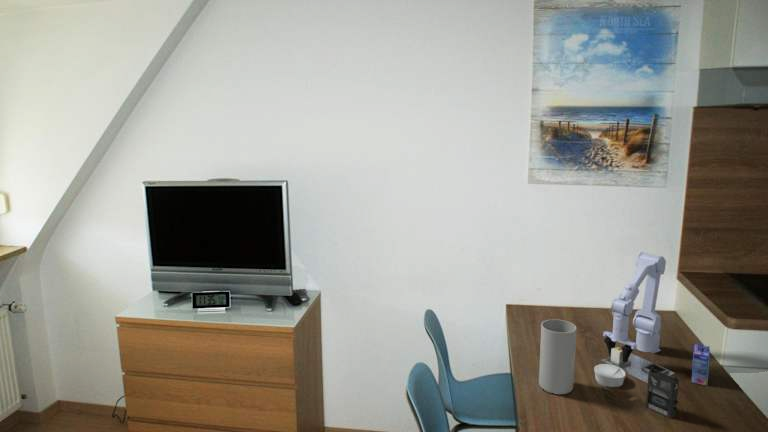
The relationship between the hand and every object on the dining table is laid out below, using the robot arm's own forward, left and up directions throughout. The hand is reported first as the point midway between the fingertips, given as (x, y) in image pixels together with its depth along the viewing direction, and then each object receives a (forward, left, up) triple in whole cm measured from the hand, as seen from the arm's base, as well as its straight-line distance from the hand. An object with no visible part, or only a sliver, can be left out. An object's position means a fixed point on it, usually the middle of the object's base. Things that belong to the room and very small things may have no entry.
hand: (618, 358), depth 213 cm
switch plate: (-4, +6, -3) cm, 8 cm away
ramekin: (+15, +8, -3) cm, 17 cm away
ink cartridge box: (-18, +23, -3) cm, 29 cm away
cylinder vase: (+35, 0, -3) cm, 35 cm away
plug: (0, 0, -2) cm, 2 cm away
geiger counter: (+15, +30, -3) cm, 34 cm away
